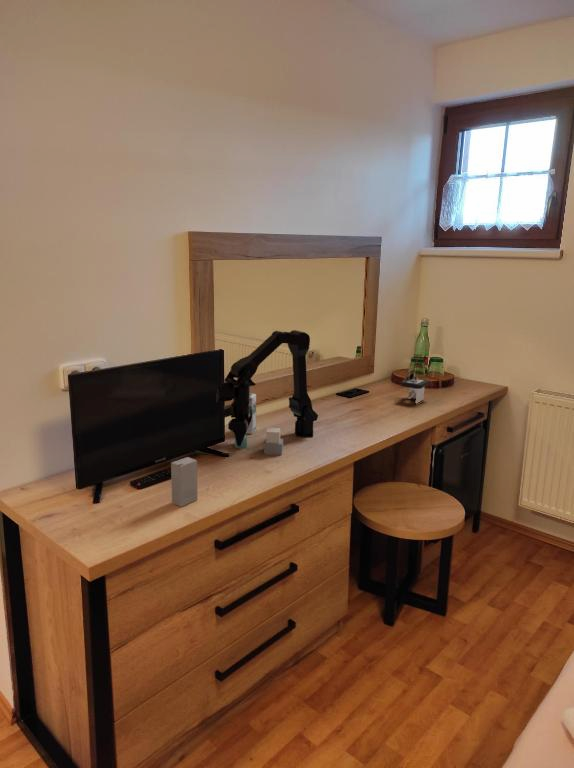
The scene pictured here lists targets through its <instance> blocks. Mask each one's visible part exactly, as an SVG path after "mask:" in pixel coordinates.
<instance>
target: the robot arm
mask: <svg viewBox="0 0 574 768" xmlns="http://www.w3.org/2000/svg"><path fill="white" fill-rule="evenodd" d="M310 343H311V337H310V335H309V334H308V333H307V332H304V331H300V330H298V329H293V330H290V331H279V330H275V331H273V332H272V333H271V335H269V336H268V338H267V339H265V340H264V341H263V342H262V343H261V344H260V345H259V346H258V347H257V348H255V350H253V351H252V352H251V353H250V354H249V355H247V356H244V357H242V358H240V359H238V360H236V362H234V363H233V364H232V365H231V367H230V371H229V373H227V375H226V377H225V379H224V381H223V382H224V383H222V387H217V393H216V403H224V402H230V401H232V402H231V404H226V405H223V406H224V418H229V417H230V418H232V419H230V420H229V421H228V423H227V425H228V430H229V431H230V432H232V433H233V434H234V439H235V438H236V442H237V446H241V444H242V441H243V439H244V436H245V435H246V432H247V429H248V427H249V424H250V422H251V419H252V416H253V409H252V408H251V407H250V393H251V392H250V390H251V387H253V386H256V382H254V380H252V378H253V377H254V375H255V374H256V373H257V370H258V368H259V366H260V365H261V364H262V363H263V362H264V361H265V360H266V359H267V358H268V357H269V356H270V355H272V353H273V352H274V351H276V350H277V349H278V348H279V347H280V346H281V345H283V344H287V347H288V350H289V352H290V353H291V356H292V357H291V358H292V377H293V379H292V380H293V394H292V396H291V397H288V403H289V404H288V408H289V409H290V411H291V412H292V414H293V417H295V418H296V420H295V421H294V433H295V436H296V437H308V438H313V437H314V422H316V421H318V418H319V415H318V414H317V412H316V411H315V410H314V409H313V404H312V403H313V402H312V400H311V397H310V396H309V394H308V379H307V376H308V375H307V359H306V358H307V354H308V352H309V349H310ZM223 385H224V386H223ZM216 403H215V404H216ZM224 418H223V419H224Z"/></svg>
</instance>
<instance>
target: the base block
mask: <svg viewBox="0 0 574 768" xmlns="http://www.w3.org/2000/svg"><path fill="white" fill-rule="evenodd" d="M263 447H264V450H263V451H264V452H263V453H264V455H273V456H274V455H276V456H282V455H283V450H284V438H280V442H279V443H266V439H265V441H264V445H263Z"/></svg>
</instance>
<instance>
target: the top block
mask: <svg viewBox="0 0 574 768" xmlns="http://www.w3.org/2000/svg"><path fill="white" fill-rule="evenodd" d="M265 432H266V435H265V436H266V437H265V440H266V443H279V442H280V439H281V428H280V427H267V429H266V431H265Z"/></svg>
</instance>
